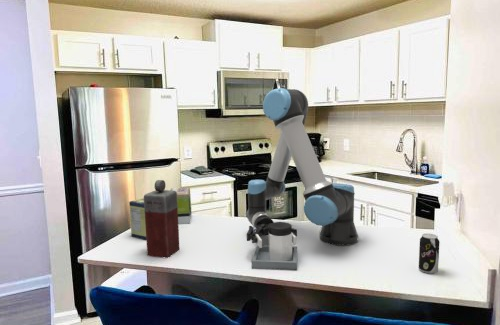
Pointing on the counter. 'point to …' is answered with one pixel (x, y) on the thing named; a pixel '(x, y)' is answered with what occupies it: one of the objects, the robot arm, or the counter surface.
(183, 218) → the tea box
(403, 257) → the counter surface
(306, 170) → the robot arm
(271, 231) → the jar
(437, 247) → the beverage can
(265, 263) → the tray
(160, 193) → the red square bottle
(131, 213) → the protein box
